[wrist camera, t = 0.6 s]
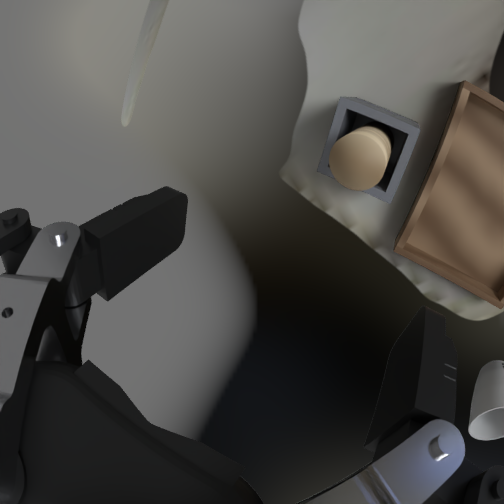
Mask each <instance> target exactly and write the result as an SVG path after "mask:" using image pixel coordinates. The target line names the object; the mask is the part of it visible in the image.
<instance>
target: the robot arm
mask: <svg viewBox="0 0 504 504" xmlns="http://www.w3.org/2000/svg"><path fill="white" fill-rule="evenodd" d="M187 204H188V199H187V196H186V194H184V193H182V192H179V191H177V190H175V189H172V188H170V187H167V186H166V187H163V188H160V189H158V190H157V191H154V192H152V193H150V194H148V195H143V196H138V197H134V198H132V199H130V200H128V201H126V202H124V203H123V204H122V205H121V204H120V205H118V206H116V207H114V208H113V210H111V209H110V210H109V211H107V212H105V213H103V214H101V215H99V216H97V217H95V218H93V219H91V220H90V221H88V222H86V223H84V224H82V225H80V226H79V227H78V226H77V225H75V224H73V223H70V222H56V223H53V224H50V225H48V226H46V227H44V228H43V229H40V228H37V227H34V226H31V223H30V218H29V213H28V211H27V210H25V209H21V208H15V209H10V210H7V211H4V212H2V213H0V256H1V258H2V261H3V264H4V267H5V270H6V273H3V274H1V275H0V504H264V503H263V501H262V500H261V498H260V497H259V495H258V494H257V493H256V491H255V490H254V489H253V488H252V487H251V486H250V485H249V483H248V482H246V481H245V480H244V479H243V478H242V477H241V476H240V475H241V473H242V472H243V470H244V469H245V467H244V466H242V465H240V464H238V463H236V462H234V461H233V460H231V459H229V458H227V457H225V456H223V455H222V454H220V453H218V452H216V451H214V450H213V449H211V448H210V447H208V446H206V445H204V444H203V443H201V442H199V441H196V440H193V439H189V438H186V437H184V436H181V435H178V434H176V433H173V432H170V431H167V430H165V429H162V428H160V427H157V426H155V425H153V424H151V423H150V422H148V421H147V420H146V418H145V417H144V416H143V415H142V414H141V412H140V411H139V410H138V409H137V407H136V406H135V405H134V404H133V402H132V401H131V400H130V399H129V397H128V396H127V395H126V393H125V392H124V391H123V389H122V388H121V387H120V386H119V385H118V384H117V383H115V382H114V381H113V380H112V379H111V378H109V377H108V376H107V375H106V374H105V373H103V372H102V371H101V370H100V369H99V368H98V367H96V366H95V365H94V364H93V363H92V362H91V361H89V360H88V361H86V362H85V363H84V364H83V365H82V355H81V351H82V344H83V339H84V334H85V330H86V325H87V321H88V317H89V312H90V308H91V304H92V302H91V301H92V300H91V296H92V295H94V294H95V293H97V294H99V295H100V296H101V297H103V298H104V299H105V300H106V301H109V300H110V299H111V298H113V297H114V296H115V295H117V294H118V293H119V292H121V291H122V290H123V289H124V288H126V287H127V286H128V285H130V284H131V283H132V282H134V281H135V280H136V279H138V278H139V277H140V276H141V275H143V274H144V273H146V272H147V271H148V270H150V269H151V268H152V267H154V266H155V265H156V264H158V263H159V262H161V261H162V260H163V259H165V258H166V257H167V256H169V255H170V254H171V253H173V252H174V251H176V249H178V247H179V246H180V245H181V243H182V241H183V238H184V234H185V224H186V214H187ZM456 369H457V352H456V349H455V347H454V344H453V341H452V339H451V338H449V337H447V336H446V319H445V316H444V315H442V314H440V313H438V312H436V311H434V310H432V309H430V308H428V307H426V306H422V307H421V308H420V309H419V310H418V312H417V313H416V315H415V316H414V317H413V319H412V320H411V322H410V323H409V325H408V326H407V327H406V329H405V330H404V331H403V333H402V334H401V335H400V337H399V338H398V339H397V341H396V342H395V344H394V346H393V348H392V350H391V352H390V355H389V358H388V363H387V367H386V371H385V375H384V379H383V383H382V387H381V391H380V395H379V398H378V402H377V405H376V409H375V412H374V416H373V419H372V423H371V425H370V429H369V432H368V435H367V438H366V442H365V444H364V448H365V449H368V450H370V451H373V452H375V454H374V457H373V460H372V462H370V463H369V464H367V465H366V466H364V467H362V468H361V469H359V470H358V471H356V472H355V473H353V474H351V475H349V476H348V477H346V478H344V479H343V480H341V481H339V482H338V483H335V484H334V485H332V486H330V487H328V488H326V489H325V490H323V491H321V492H319V493H317V494H315V495H313V496H311V497H309V498H307V499H305V500H303V501H300V502H298V503H296V504H504V467H503V466H493V467H491V468H490V469H488V470H486V471H484V472H483V471H482V470H480V469H479V468H478V467H477V466H475V465H474V464H473V463H471V462H470V461H469V460H468V459H467V458H466V457H465V456H464V454H465V445H464V441H463V438H462V435H461V434H460V432H459V430H458V429H457V428H456V427H455V426H454V417H455V404H456V386H457V384H456V379H457V371H456Z"/></svg>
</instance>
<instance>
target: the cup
mask: <svg viewBox="0 0 504 504" xmlns="http://www.w3.org/2000/svg"><path fill="white" fill-rule="evenodd" d="M469 433H470V435H471V436H472V437H474V438H476V439H479V440H493V439H498V438H501V437H504V362H503V361H499V360H496V361H491V362H489V363H487V364H486V365H484V366H483V367H482V368H481V370H480V372H479V375H478V378H477V381H476V384H475V389H474V394H473V399H472V405H471V413H470V422H469Z"/></svg>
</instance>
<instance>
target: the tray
mask: <svg viewBox="0 0 504 504" xmlns="http://www.w3.org/2000/svg"><path fill="white" fill-rule="evenodd" d="M394 252H396V253H398V254H400V255H402V256H404V257H406V258H408V259H410V260H412V261H414V262H415V263H417V264H419V265H421V266H423V267H425V268H427V269H429V270H431V271H433V272H435V273H436V274H438V275H440V276H442V277H444V278H446V279H448V280H450V281H451V282H453V283H455V284H457V285H459V286H461V287H462V288H464V289H466V290H468V291H470V292H471V293H473V294H475V295H477V296H479V297H480V298H482V299H484V300H486V301H487V302H489V303H491V304H493V305H494V306H496V307H498V308H499V309H502V308H503V306H504V102H502V101H500V100H498V99H497V98H495V97H494V96H492V95H490V94H489V93H487V92H485V91H484V90H482V89H480V88H478V87H476V86H475V85H473V84H471V83H469V82H467V81H462V82H460V85H459V88H458V91H457V94H456V98H455V101H454V103H453V106H452V109H451V112H450V115H449V118H448V121H447V123H446V126H445V129H444V131H443V134H442V137H441V139H440V142H439V145H438V147H437V150H436V152H435V155H434V157H433V159H432V162H431V164H430V167H429V169H428V171H427V174H426V176H425V178H424V181H423V183H422V185H421V188H420V190H419V192H418V194H417V196H416V199H415V201H414V203H413V205H412V207H411V209H410V212H409V214H408V216H407V218H406V220H405V222H404V224H403V226H402V228H401V230H400V232H399V234H398V236H397V238H396V240H395V246H394Z"/></svg>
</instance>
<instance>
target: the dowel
mask: <svg viewBox="0 0 504 504" xmlns="http://www.w3.org/2000/svg"><path fill="white" fill-rule="evenodd" d="M393 146H394V136H393V133H392V132H391V130H390V129H389V128H388V127H387V126H386V125H385V124H383V123H380V122H369V123H367V124H365V125H363V126H361V127H359V128H358V129H356V130H354V131H352V132H351V133H349V134H347V135H345V136H344V137H342V138H340V139H339V140H338V141H337V142H336V143H335V144H334V145H333V147H332V149H331V151H330V155H329V166H330V169H331V172H332V174H333V176H334V177H335V179H336V180H337V181H338V182H339V183H340V184H341V185H343V186H344V187H346V188H349V189H351V190H357V191H362V190H367V189H370V188H372V187H374V186H375V185H376V184H378V182H379V181H380V180H381V178H382V177H383V175H384V172H385V169H386V166H387V164H388V161H389V158H390V155H391V152H392V149H393Z"/></svg>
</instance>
